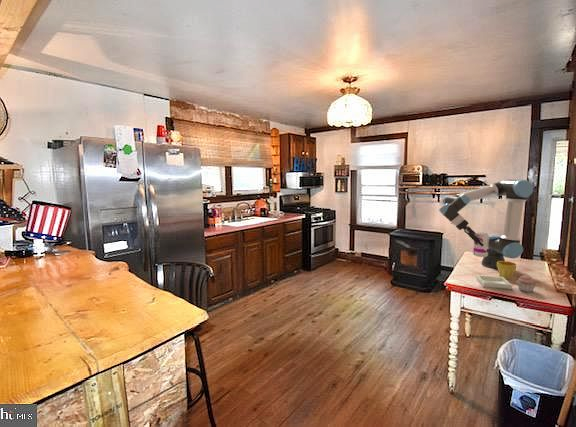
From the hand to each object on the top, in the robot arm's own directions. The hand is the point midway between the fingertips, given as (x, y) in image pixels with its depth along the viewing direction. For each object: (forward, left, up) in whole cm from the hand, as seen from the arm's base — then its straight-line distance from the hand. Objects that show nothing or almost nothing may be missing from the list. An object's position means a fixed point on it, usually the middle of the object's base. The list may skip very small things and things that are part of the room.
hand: (486, 247), depth 193 cm
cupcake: (+19, +15, -21) cm, 32 cm away
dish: (+13, +1, -20) cm, 24 cm away
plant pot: (-4, +13, -21) cm, 25 cm away
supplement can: (-1, -3, -6) cm, 7 cm away
